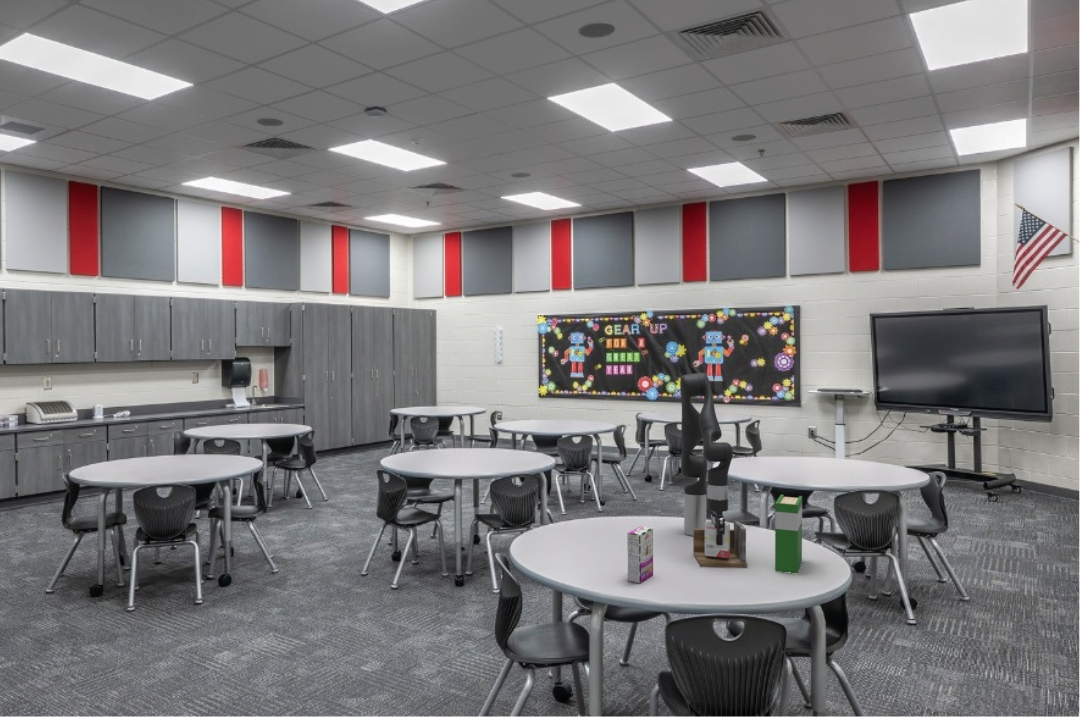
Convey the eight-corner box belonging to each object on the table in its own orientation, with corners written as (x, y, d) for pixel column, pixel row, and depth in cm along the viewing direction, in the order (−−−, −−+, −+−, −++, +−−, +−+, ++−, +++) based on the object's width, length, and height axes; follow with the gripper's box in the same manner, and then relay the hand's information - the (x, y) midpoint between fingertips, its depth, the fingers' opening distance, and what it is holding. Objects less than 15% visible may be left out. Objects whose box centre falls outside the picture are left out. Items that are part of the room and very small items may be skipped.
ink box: (730, 555, 252) (730, 522, 252) (728, 558, 248) (728, 525, 248) (706, 552, 256) (707, 520, 256) (704, 555, 251) (704, 523, 251)
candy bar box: (640, 572, 239) (640, 525, 240) (653, 575, 237) (653, 527, 237) (626, 581, 230) (626, 532, 230) (640, 584, 227) (640, 534, 227)
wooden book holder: (693, 555, 262) (693, 519, 262) (737, 555, 261) (737, 520, 261) (700, 566, 247) (700, 529, 247) (747, 567, 246) (747, 530, 246)
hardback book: (780, 558, 258) (781, 494, 258) (801, 560, 255) (802, 496, 255) (775, 571, 242) (775, 503, 242) (797, 574, 239) (797, 505, 239)
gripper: (703, 493, 259) (703, 537, 259) (711, 500, 245) (710, 547, 245) (723, 493, 259) (723, 537, 259) (732, 501, 245) (732, 548, 244)
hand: (717, 542), depth 252 cm, fingers closed on ink box, 6 cm apart
